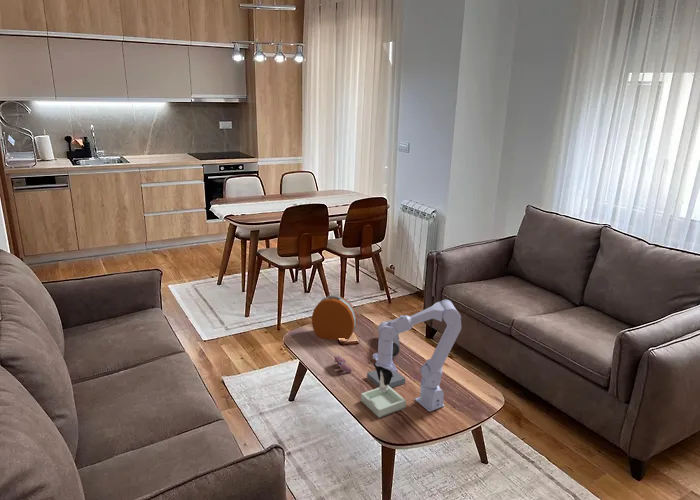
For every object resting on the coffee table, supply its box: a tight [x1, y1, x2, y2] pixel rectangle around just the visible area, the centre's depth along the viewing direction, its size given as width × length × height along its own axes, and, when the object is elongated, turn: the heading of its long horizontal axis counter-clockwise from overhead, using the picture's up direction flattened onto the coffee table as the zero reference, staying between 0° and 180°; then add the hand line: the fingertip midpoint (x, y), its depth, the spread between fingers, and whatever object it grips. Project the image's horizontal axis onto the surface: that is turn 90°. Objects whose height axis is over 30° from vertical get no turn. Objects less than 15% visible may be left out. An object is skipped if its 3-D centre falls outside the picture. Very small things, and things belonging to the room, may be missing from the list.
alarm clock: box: [311, 294, 358, 341], centre depth 257 cm, size 22×10×23 cm, turn 74°
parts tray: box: [360, 385, 407, 419], centre depth 203 cm, size 13×13×4 cm
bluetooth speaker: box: [385, 320, 401, 358], centre depth 246 cm, size 23×9×10 cm, turn 179°
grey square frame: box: [366, 369, 406, 389], centre depth 220 cm, size 12×12×2 cm
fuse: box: [379, 371, 388, 392], centre depth 200 cm, size 4×4×8 cm
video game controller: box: [334, 354, 353, 374], centre depth 228 cm, size 10×5×7 cm, turn 21°
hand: (384, 381), depth 200 cm, fingers closed on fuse, 3 cm apart
